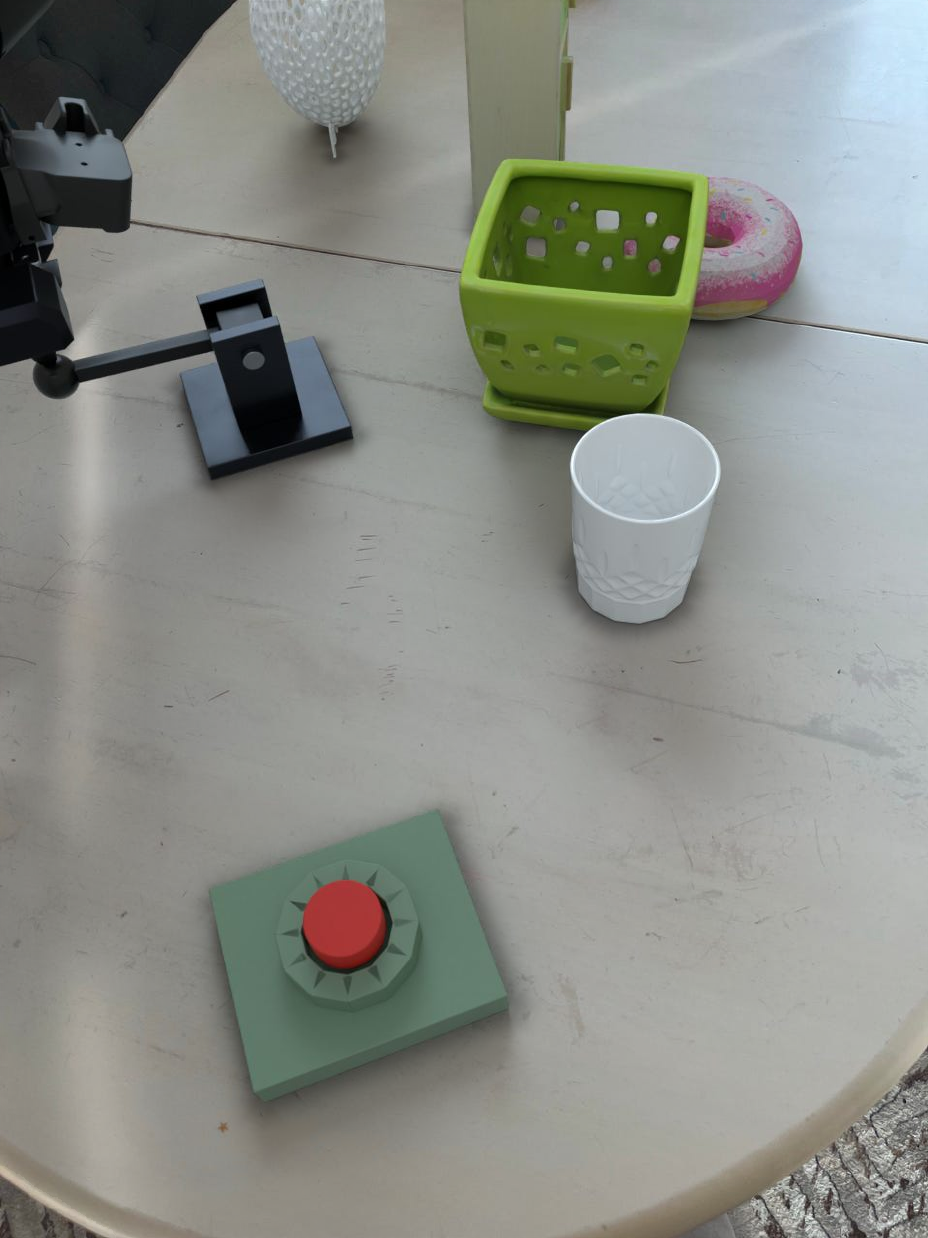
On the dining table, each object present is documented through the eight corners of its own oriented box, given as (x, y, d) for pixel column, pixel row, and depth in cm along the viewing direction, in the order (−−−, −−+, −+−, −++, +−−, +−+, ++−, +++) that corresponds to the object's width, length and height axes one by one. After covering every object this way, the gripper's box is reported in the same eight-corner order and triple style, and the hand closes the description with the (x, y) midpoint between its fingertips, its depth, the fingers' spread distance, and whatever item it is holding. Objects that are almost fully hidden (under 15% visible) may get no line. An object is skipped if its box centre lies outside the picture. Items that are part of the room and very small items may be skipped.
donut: (631, 344, 76) (637, 287, 72) (600, 232, 84) (603, 174, 80) (817, 324, 76) (833, 266, 72) (769, 214, 84) (781, 155, 80)
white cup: (633, 656, 61) (648, 548, 53) (539, 577, 65) (539, 464, 57) (725, 580, 64) (752, 466, 56) (629, 509, 67) (641, 392, 59)
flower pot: (670, 467, 69) (694, 310, 59) (462, 442, 72) (449, 286, 61) (692, 326, 77) (716, 165, 66) (504, 307, 79) (498, 149, 69)
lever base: (211, 480, 71) (174, 381, 64) (183, 385, 77) (146, 283, 69) (354, 438, 72) (333, 337, 65) (316, 347, 78) (293, 245, 71)
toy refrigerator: (565, 236, 84) (571, -53, 67) (473, 232, 85) (456, -54, 68) (574, 178, 88) (583, -108, 71) (487, 174, 89) (474, -108, 72)
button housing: (263, 1103, 49) (244, 1084, 45) (218, 904, 54) (198, 874, 51) (508, 1009, 50) (506, 984, 47) (441, 825, 56) (434, 792, 53)
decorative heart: (290, 75, 100) (249, -134, 86) (402, 70, 100) (379, -141, 86) (264, 187, 90) (214, -29, 76) (389, 182, 89) (361, -37, 75)
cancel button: (320, 981, 48) (314, 969, 47) (300, 908, 50) (293, 895, 48) (396, 953, 48) (391, 940, 47) (373, 882, 50) (368, 868, 49)
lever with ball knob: (44, 413, 67) (28, 378, 64) (38, 384, 68) (23, 350, 66) (273, 357, 69) (266, 322, 67) (263, 331, 71) (256, 296, 69)
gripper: (119, 176, 49) (206, 423, 61) (68, -1, 59) (151, 241, 72) (-129, 237, 47) (13, 477, 60) (-137, 44, 57) (-15, 284, 70)
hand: (48, 359), depth 65 cm, fingers closed
